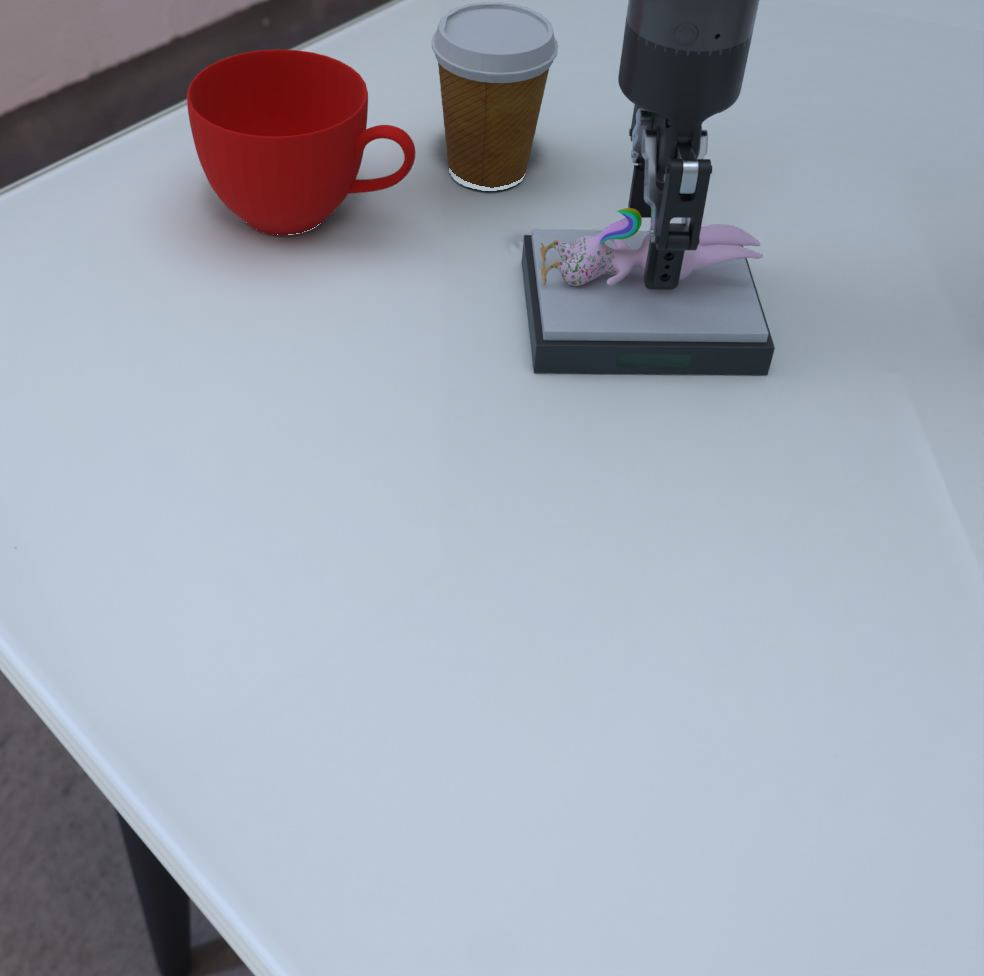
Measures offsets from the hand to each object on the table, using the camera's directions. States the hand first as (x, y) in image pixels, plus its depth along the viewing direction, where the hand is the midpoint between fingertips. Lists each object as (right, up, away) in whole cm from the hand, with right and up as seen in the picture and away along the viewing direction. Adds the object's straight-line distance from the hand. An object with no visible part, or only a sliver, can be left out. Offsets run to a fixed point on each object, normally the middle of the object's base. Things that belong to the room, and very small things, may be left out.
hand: (651, 249), depth 89 cm
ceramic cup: (-24, +5, +12) cm, 27 cm away
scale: (0, -4, +4) cm, 6 cm away
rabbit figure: (0, -2, +2) cm, 3 cm away
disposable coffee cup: (-11, +10, +17) cm, 22 cm away
